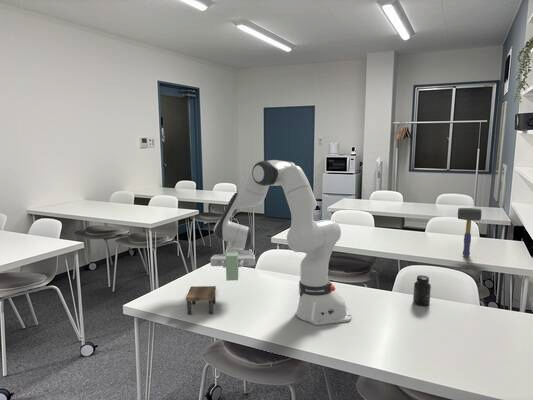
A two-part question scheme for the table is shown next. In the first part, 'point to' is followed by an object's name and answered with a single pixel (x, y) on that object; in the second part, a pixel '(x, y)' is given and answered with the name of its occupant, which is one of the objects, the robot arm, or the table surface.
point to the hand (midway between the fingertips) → (232, 265)
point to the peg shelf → (201, 296)
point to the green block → (231, 266)
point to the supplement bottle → (422, 291)
